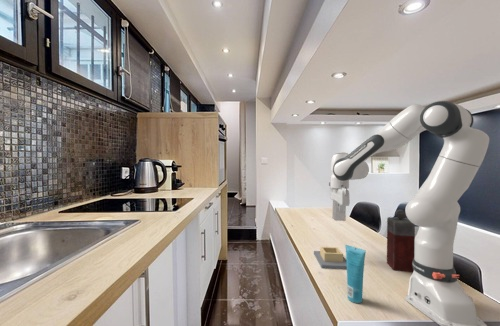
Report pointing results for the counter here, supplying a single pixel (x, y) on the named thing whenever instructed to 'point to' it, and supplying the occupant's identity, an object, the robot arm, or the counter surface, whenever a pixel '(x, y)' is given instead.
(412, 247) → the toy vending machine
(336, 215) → the block
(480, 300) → the counter surface
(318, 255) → the collar stand
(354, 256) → the tube
